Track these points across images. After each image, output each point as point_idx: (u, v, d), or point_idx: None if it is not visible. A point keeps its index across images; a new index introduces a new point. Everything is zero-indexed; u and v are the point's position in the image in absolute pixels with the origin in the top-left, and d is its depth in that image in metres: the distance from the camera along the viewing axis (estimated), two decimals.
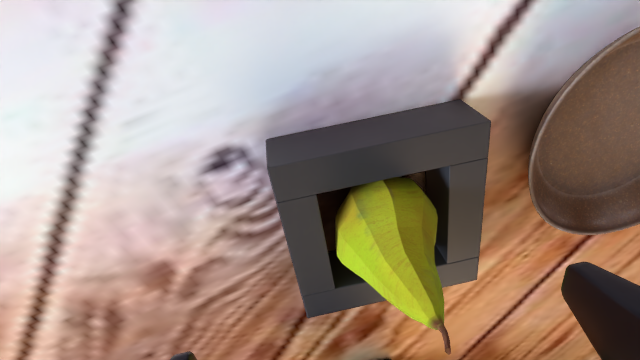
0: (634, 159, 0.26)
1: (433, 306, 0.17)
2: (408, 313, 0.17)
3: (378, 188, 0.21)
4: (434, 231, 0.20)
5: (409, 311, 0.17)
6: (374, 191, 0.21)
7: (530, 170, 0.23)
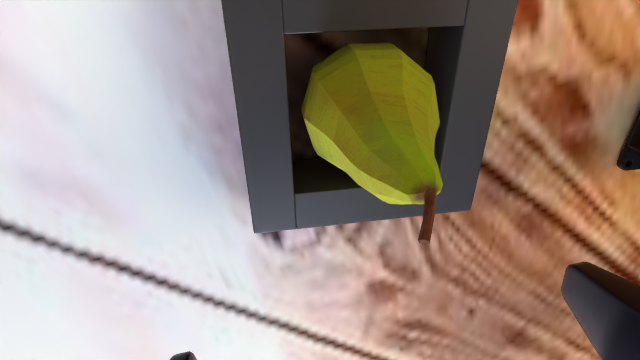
0: None
1: (397, 190, 0.11)
2: None
3: (305, 123, 0.17)
4: (363, 82, 0.14)
5: None
6: (307, 129, 0.17)
7: None
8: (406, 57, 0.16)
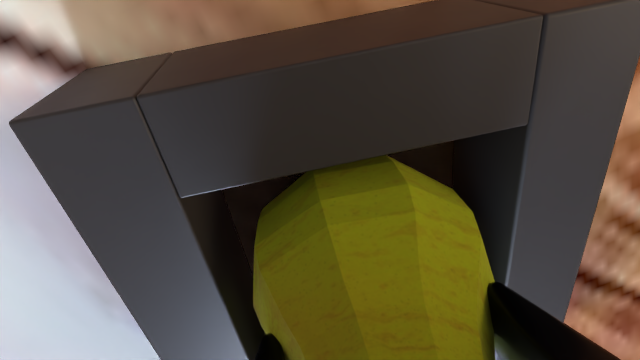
0: None
1: None
2: None
3: None
4: (339, 287, 0.07)
5: None
6: None
7: None
8: (422, 198, 0.08)
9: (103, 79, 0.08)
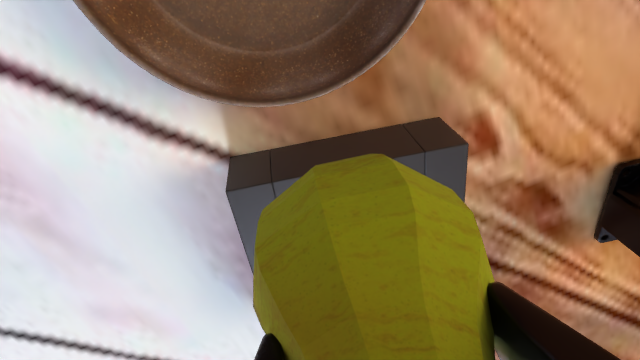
0: None
1: None
2: None
3: None
4: (340, 288, 0.07)
5: None
6: None
7: (302, 100, 0.17)
8: (422, 199, 0.08)
9: (248, 168, 0.19)
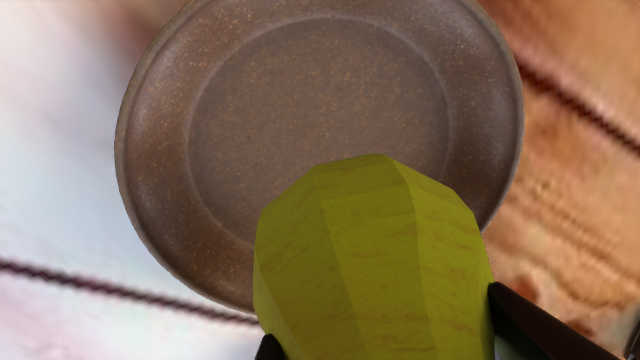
0: (393, 96, 0.15)
1: None
2: None
3: None
4: (340, 288, 0.07)
5: None
6: None
7: None
8: (422, 198, 0.08)
9: None
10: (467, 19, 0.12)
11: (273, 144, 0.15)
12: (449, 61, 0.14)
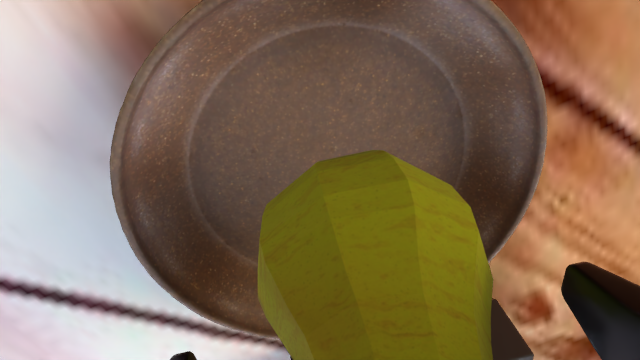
0: (405, 107, 0.14)
1: None
2: None
3: None
4: (342, 278, 0.07)
5: None
6: None
7: None
8: (421, 193, 0.09)
9: None
10: (489, 27, 0.11)
11: (278, 158, 0.14)
12: (466, 71, 0.13)
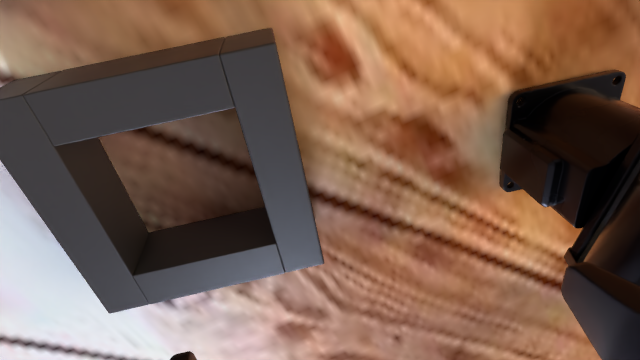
0: None
1: None
2: None
3: None
4: None
5: None
6: None
7: None
8: None
9: (16, 86, 0.16)
10: None
11: None
12: None
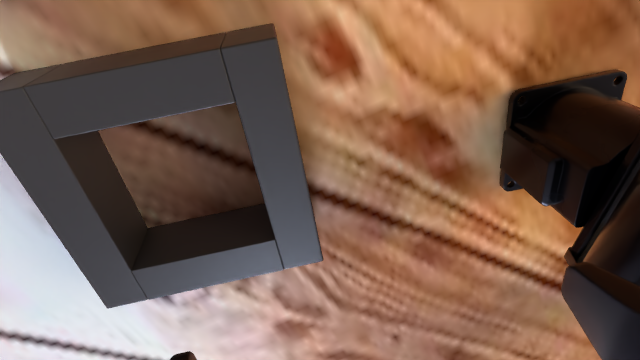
0: None
1: None
2: None
3: None
4: None
5: None
6: None
7: None
8: None
9: (17, 78, 0.15)
10: None
11: None
12: None
